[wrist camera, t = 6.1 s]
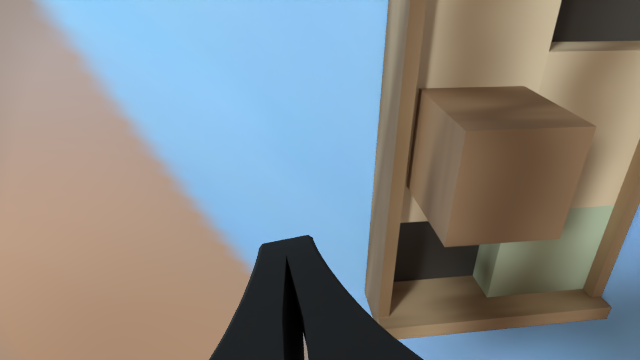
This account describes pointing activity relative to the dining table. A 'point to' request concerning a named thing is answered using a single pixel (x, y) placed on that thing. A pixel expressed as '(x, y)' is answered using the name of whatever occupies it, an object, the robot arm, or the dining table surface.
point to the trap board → (593, 186)
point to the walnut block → (495, 163)
